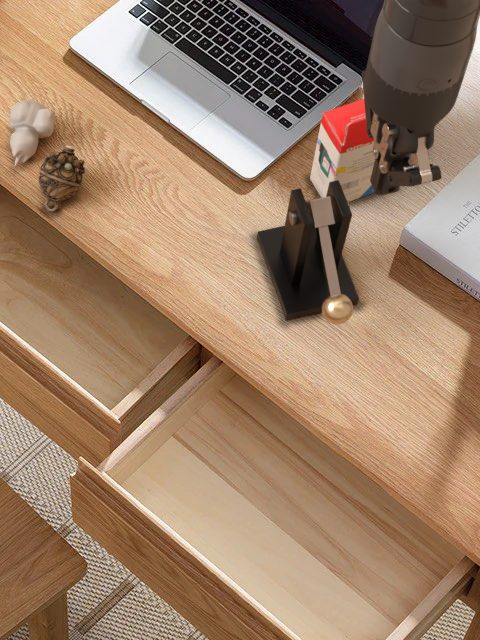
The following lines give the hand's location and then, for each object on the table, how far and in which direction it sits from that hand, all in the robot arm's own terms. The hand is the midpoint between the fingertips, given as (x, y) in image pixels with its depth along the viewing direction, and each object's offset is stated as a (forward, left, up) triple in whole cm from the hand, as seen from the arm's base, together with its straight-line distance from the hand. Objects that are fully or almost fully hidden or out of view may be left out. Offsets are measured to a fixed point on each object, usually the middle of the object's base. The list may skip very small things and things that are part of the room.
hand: (383, 186), depth 112 cm
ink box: (-6, -17, -24) cm, 30 cm away
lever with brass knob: (+2, -4, -17) cm, 17 cm away
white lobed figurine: (+26, -35, -20) cm, 48 cm away
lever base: (+2, -7, -24) cm, 25 cm away
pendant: (+28, -26, -21) cm, 43 cm away
